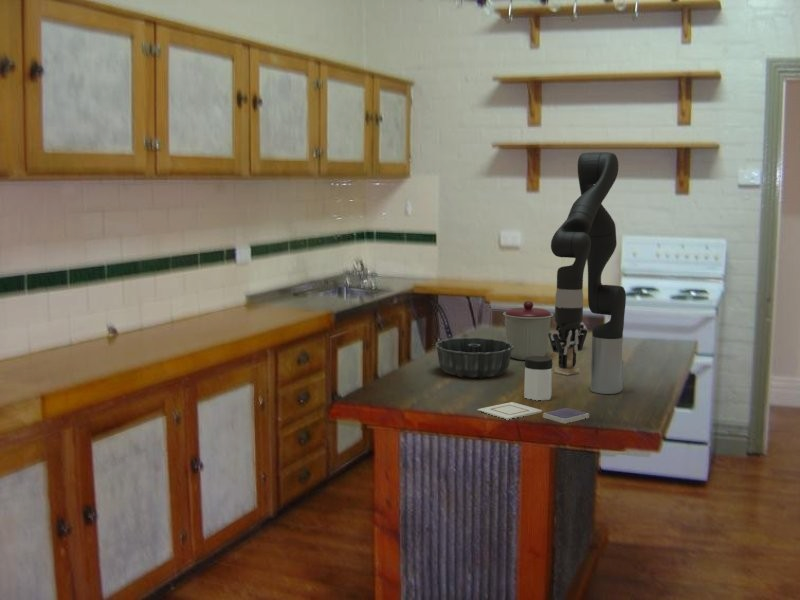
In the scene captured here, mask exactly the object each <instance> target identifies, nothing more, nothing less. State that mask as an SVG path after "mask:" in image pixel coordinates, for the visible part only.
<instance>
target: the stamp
mask: <svg viewBox="0 0 800 600" xmlns="http://www.w3.org/2000/svg"><path fill="white" fill-rule="evenodd" d="M562 350H563V348H562ZM566 355H567V367H566V368H560V367H559V365H557V366H554V375H555V374H556V375H559V376H565V377H571V376H576V375H580V367H578V366H574V367H573V348H571V347H568V348H567V354H566Z"/></svg>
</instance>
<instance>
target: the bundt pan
mask: <svg viewBox="0 0 800 600" xmlns="http://www.w3.org/2000/svg"><path fill="white" fill-rule="evenodd" d="M435 348H436V349H437V357H438V363H439V367H440V368H441V370H442V371H444V373H447V374H449V375H451V376H457V377H458V378H464V377H466V378H469V379H474V378H476V377H477V378H479V379H482V378H484V377H486V378H492V377H498V376H500V375H501V376H502V374H503V373H504V372H505V371H506V370H507V369H508V368H509V366H510V363H511V358H512V357H511V352H512V349H513V348H514V346H512V343H507V340H506V341H505V340H500V339H495V338H486V337H459V338H458V337H456V338H455V337H453V338H447V339H442V340H440V341H437V342H436V343H435Z"/></svg>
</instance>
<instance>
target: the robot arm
mask: <svg viewBox="0 0 800 600" xmlns="http://www.w3.org/2000/svg"><path fill="white" fill-rule="evenodd" d="M618 174H619V159H618V156H617V154H615V153H614V152H610V151H609V152H608V151H607V152H602V151H601V152H599V151H598V152H597V151H595V152H593V151H592V152H582V153H581V154H580V155H579V157H578V160H577V178H578V184H579V189H580V196H579V197H578V198H577V199H576V200H575V201H574V202H573V204H572V206H571V208H570V210H569V213H568V216H567V218H566V219H565V221H564V222H563V223H562V224H561V225H560V226H559V227H558V228H557V230H556V231H555V233H554V234H553V236H552V238H551V241H550V249H551V253H552V254H553V255H554V256H556V257H558V258H569V259H570V258H571V259H574V261H573V263H572V264H571V265H565V266H560V267H558V269H557V271H556V290H555V291H556V292H555V298H554V300H555V301H554V303H555V304H554V321H555V322H556V328H555V331H553V332H549V335H548V336H549V339H548V340H549V342H550V345H551V349H552V352H553V353H556V354H558V366H559V367H560V368H566V367H567V355H566V354H567V348H568V347H571V348H573V367H576V364H577V354H578V352H579V351H578V350H580V351H582V350H583V346H584V344H585V340H586V337H587V335H588V330H587V329H585V328H584V329H582V328H581V326H580V325H581V323H582V322H583V317H584V316H583V315H584V290H583V289H584V286H583V285H584V274H585V273H584V272H585V268H586V264H587V303H588V308H589V310H590V312H591V313H592V314H595V315H605V316H610V319H609V321H607V322H605V323H602V324H598V325H595V326H593V328H592V332H591V333H592V334H591V362H590V363H591V364H590V365H591V366H590V391H591V392H593V393H597V394H602V395H603V394H604V395H615V394H619V393H621V391H623V385H624V384H623V382H624V363H625V362H624V360H623V340H624V339H623V338H624V337H623V336H624V335H623V334H624V327H625V313H626V303H627V301H626V300H627V295H626V290H625V288H624V286H621V285H616V284H615V285H612V284H602V273H603V271H604V269H605V267H606V265H607V264H608V263H609V261H610V259H611V258H612V256H613V254H614V253H615V250H616V248H617V231H616V223H615V221H614V219H613V218H612V216H611V214H610V213H609V212H608V210H607V209H606V208H605V207H604V205H603V201H604V200H605V199H606V197H607V196H608V193H609V192H610V190H611V188H612V187H613V185H614V184H615V181H616V180H617V177H618ZM579 341H580V343H579V345H578V342H579ZM562 342H565V343H562ZM572 345H573V347H572ZM562 346H563V350H562Z"/></svg>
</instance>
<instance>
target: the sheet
mask: <svg viewBox="0 0 800 600" xmlns="http://www.w3.org/2000/svg"><path fill="white" fill-rule="evenodd" d="M477 410H478V411H482V412H484V413H487V414H486V415H488V414H490V415H489V416H491V415H493V416H492V417H494V416H497V417H496V418H498V417H500V418H499V419H501V418H504V419H506V420H505V421H510V420H513V419H512V418H515V419H518V418H517V417H519V418H523V416H524V417H528V416H531V415H537V414H541V413H542V414H543V409H539V408H536V407H531V406H528V405H524V404H520V403H516V402H514V401H510V402H506V403H501V404H495V405H491V406H486V407H481V408H477V409H476V411H477ZM478 411H477V412H478ZM484 413H483V414H484ZM504 419H503V420H504ZM509 419H510V420H509Z"/></svg>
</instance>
